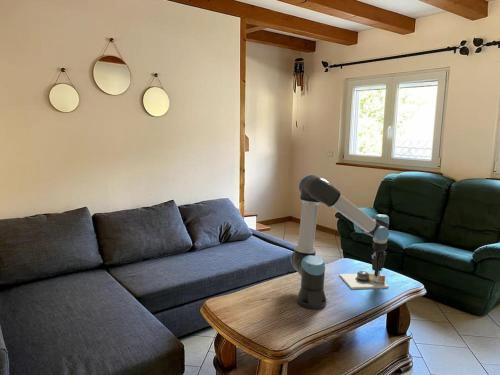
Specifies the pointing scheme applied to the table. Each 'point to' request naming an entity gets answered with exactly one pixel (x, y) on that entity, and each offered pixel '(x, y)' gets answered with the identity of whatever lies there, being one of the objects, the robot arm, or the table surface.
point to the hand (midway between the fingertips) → (376, 281)
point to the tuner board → (360, 282)
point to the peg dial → (369, 277)
